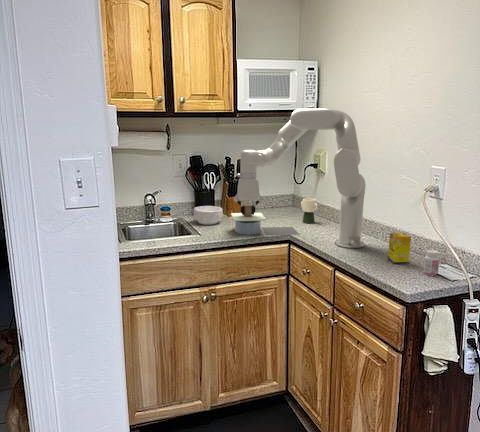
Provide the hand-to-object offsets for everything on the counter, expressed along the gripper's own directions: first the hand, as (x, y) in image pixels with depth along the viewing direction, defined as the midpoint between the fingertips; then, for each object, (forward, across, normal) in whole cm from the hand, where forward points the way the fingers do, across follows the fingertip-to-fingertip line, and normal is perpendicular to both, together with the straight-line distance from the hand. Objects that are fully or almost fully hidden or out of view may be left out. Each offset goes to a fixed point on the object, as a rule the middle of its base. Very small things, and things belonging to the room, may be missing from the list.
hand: (247, 213), depth 216 cm
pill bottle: (+10, +57, -66) cm, 88 cm away
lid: (+2, 0, 0) cm, 2 cm away
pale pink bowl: (+9, -18, +23) cm, 31 cm away
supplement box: (+10, +52, -51) cm, 73 cm away
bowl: (+9, 0, 0) cm, 9 cm away
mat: (+9, +16, 0) cm, 18 cm away
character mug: (+10, +35, +18) cm, 40 cm away
